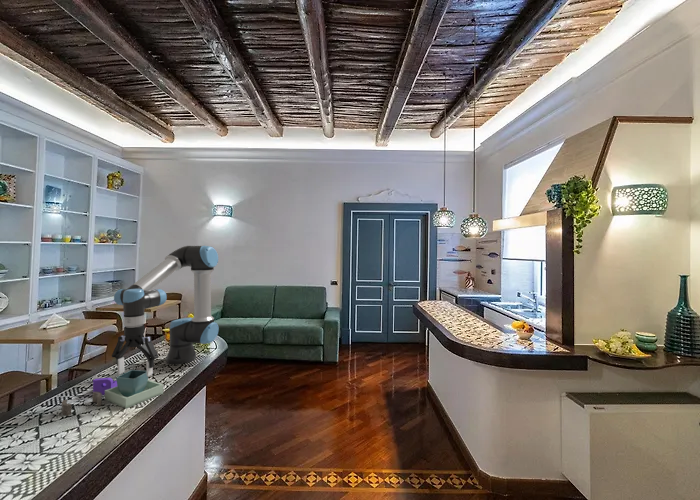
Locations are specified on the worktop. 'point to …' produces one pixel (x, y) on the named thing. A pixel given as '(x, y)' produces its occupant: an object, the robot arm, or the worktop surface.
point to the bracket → (103, 384)
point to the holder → (67, 407)
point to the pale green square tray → (126, 402)
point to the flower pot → (132, 382)
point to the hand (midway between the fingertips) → (135, 374)
